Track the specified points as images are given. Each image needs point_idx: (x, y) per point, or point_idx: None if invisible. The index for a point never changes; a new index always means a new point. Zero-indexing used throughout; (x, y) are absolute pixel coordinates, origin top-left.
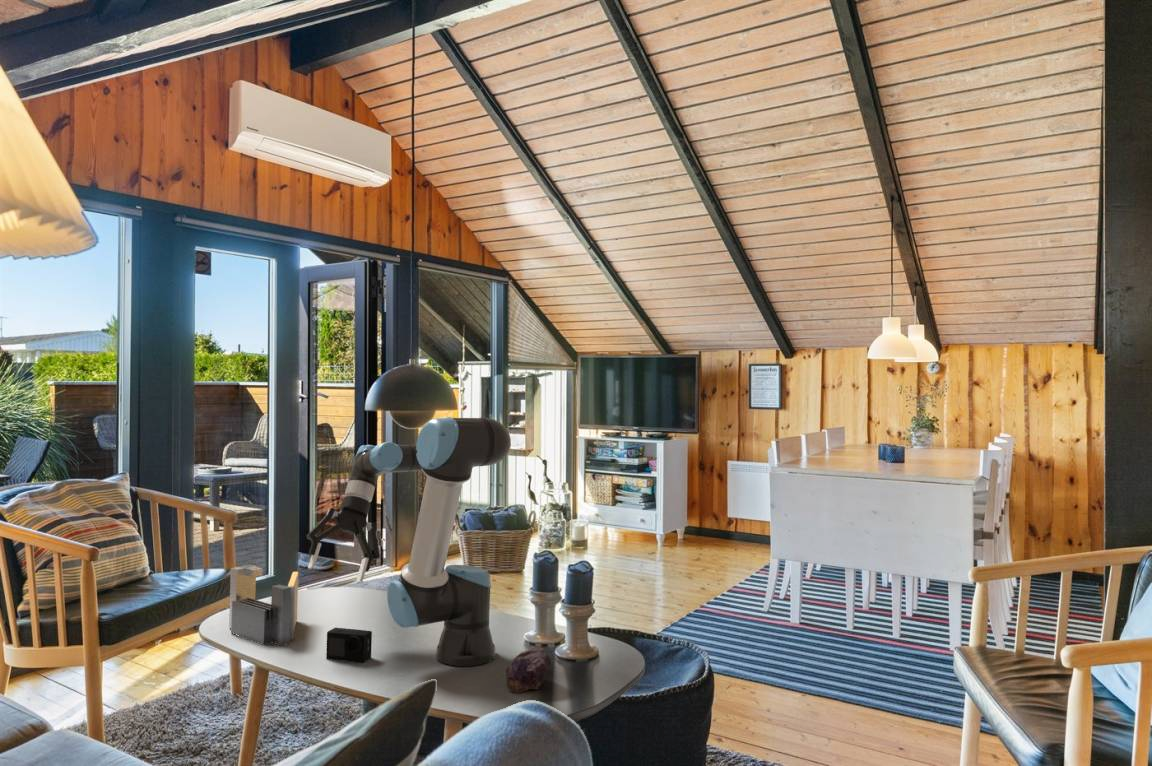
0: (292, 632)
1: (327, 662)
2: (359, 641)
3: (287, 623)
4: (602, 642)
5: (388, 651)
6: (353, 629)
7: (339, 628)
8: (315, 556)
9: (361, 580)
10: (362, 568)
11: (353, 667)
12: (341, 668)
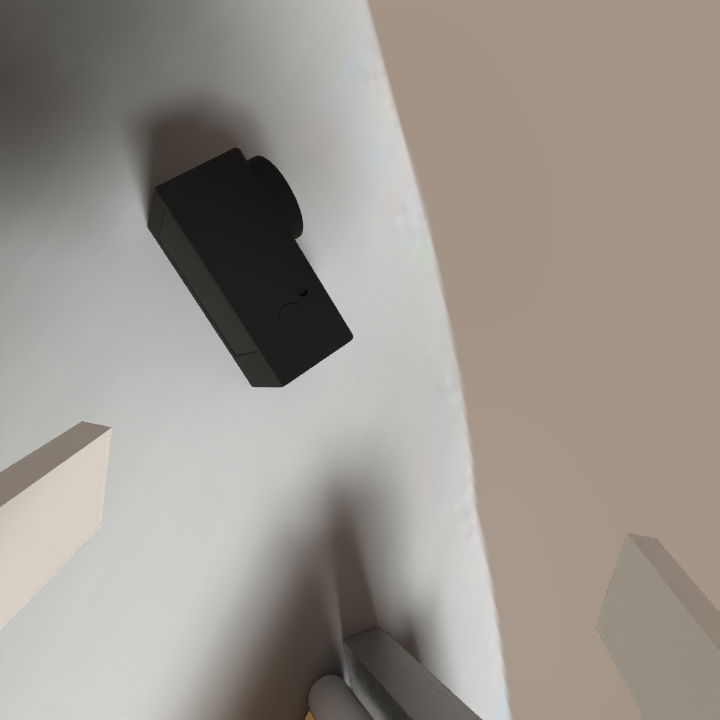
0: (331, 693)
1: None
2: (258, 157)
3: (396, 677)
4: None
5: (21, 244)
6: (225, 283)
7: (277, 351)
8: (708, 610)
9: (89, 429)
10: (23, 519)
11: None
12: (315, 202)
